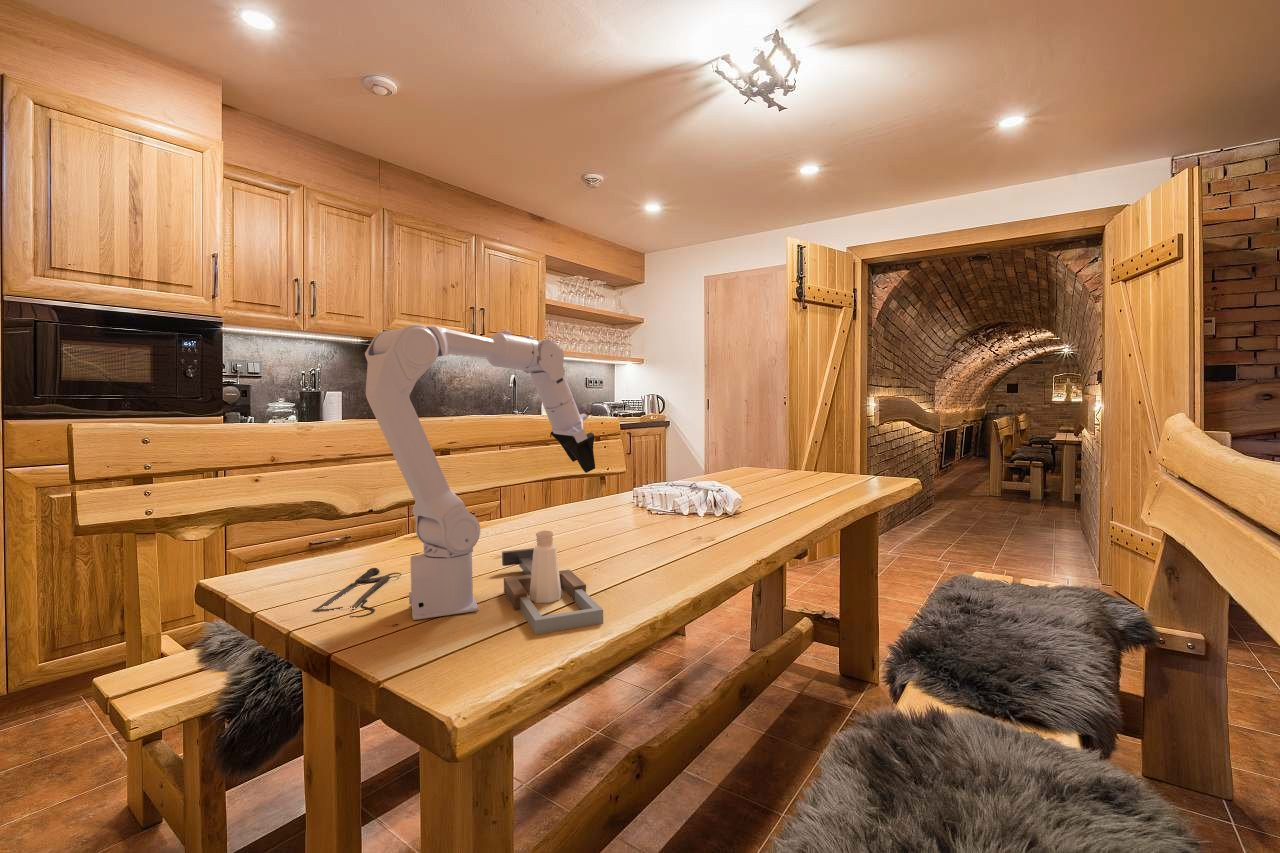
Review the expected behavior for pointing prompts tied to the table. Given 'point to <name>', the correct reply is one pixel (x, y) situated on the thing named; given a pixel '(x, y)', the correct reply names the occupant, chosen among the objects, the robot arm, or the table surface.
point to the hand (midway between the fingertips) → (583, 464)
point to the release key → (519, 559)
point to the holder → (521, 584)
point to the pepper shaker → (545, 570)
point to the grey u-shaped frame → (563, 615)
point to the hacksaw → (363, 598)
